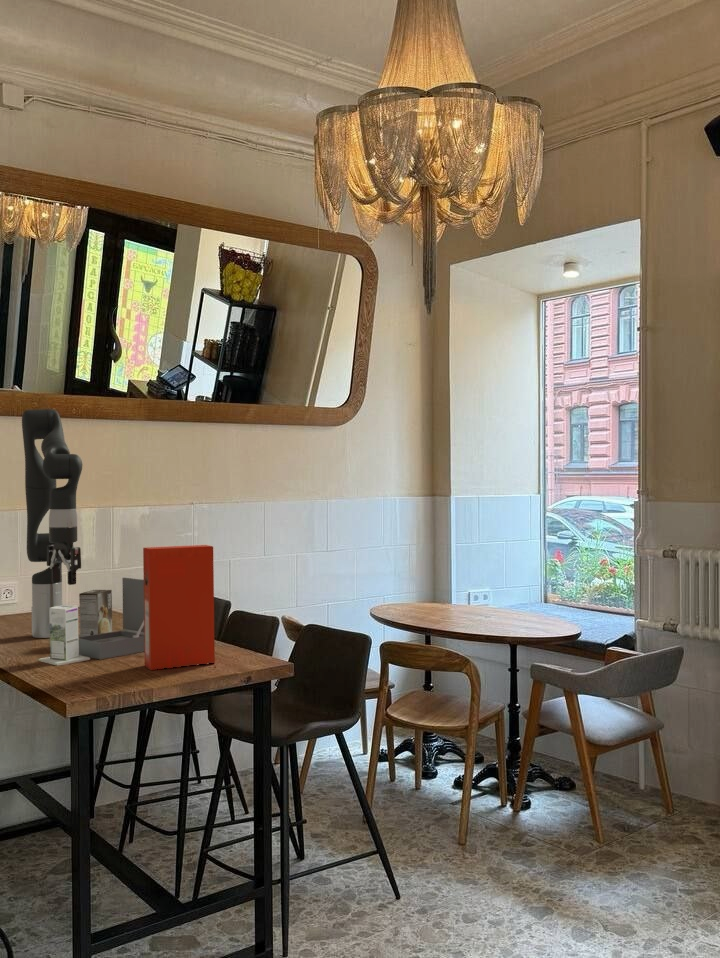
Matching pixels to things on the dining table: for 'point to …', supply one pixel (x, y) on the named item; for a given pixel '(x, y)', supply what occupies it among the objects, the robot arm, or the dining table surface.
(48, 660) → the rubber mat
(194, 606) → the file binder
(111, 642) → the case
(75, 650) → the syrup box
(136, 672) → the dining table surface
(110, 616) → the coffee box
